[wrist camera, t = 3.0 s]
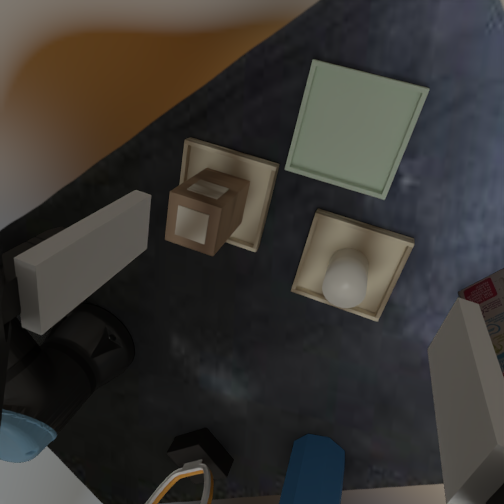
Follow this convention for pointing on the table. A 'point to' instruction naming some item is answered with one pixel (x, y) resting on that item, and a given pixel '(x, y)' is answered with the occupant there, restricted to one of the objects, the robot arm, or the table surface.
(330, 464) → the water bottle
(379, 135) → the tray
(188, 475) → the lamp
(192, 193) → the letter block
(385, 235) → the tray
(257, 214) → the tray
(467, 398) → the robot arm
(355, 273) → the white dome
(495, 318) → the juice carton
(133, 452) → the table surface
